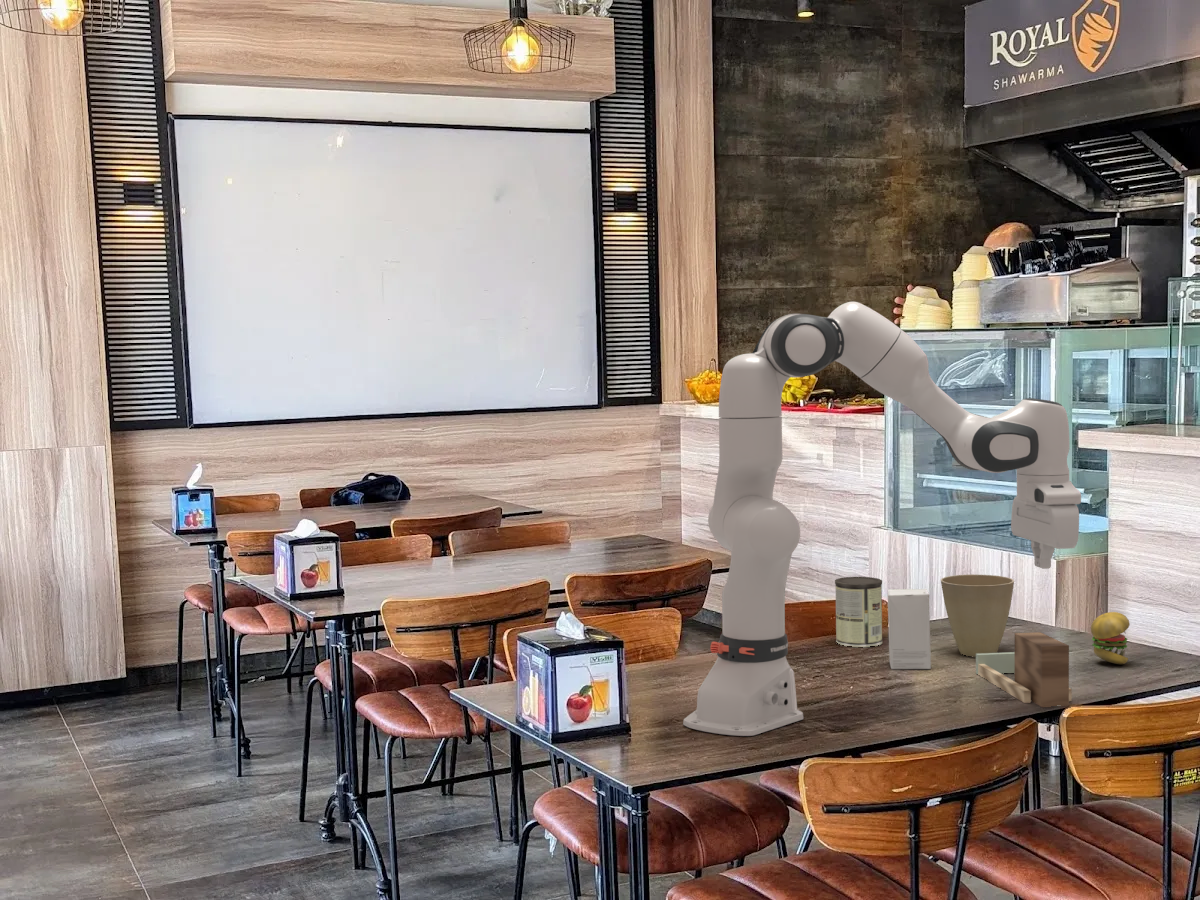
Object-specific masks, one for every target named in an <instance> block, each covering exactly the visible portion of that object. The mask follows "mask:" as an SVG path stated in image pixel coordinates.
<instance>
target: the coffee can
mask: <svg viewBox="0 0 1200 900" xmlns="http://www.w3.org/2000/svg"><path fill="white" fill-rule="evenodd" d="M834 584H835V585H834V586H835V633H836V635H835V636H836V637H835V638H836V639H835V643H836V642H837V643H838V644H837V643H836V644H837V645H839V644H840V645H839V646H842V645H844V646H843V647H847V646H852V647H851V648H858V647H863V648H871V647H870V646H875V647H878V645H879V646H881V645H882V644H883V643H884V642H883V607H882V605H883V604H882V603H883V602H882V600H883V597H882V596H883V595H882V594H883V593H882V591H883V590H882V585H883V580H882V579H880V578H876V577H870V576H844V577H838V578H835V580H834Z"/></svg>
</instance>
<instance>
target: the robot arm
mask: <svg viewBox="0 0 1200 900" xmlns="http://www.w3.org/2000/svg"><path fill="white" fill-rule="evenodd" d="M834 362H837V363H839V364H841V365H842V366H844V367H846V368H847V369H849V370H850V371H851V372H852V373H854V374H855V376H857V377H858V378H859V379H860V380H861V381H863V382H864V383H865V384H867V385H868V386H870V388H872V389H874V390H875V391H877V392H879V393H880V394H883V395H884V396H885V397H887V398H890V399H891V400H894V401H895V402H897V403H899V404H902V405H904V406H905V407H907V408H908V409H909V410H911V411H912V412H913V413H915V414H916V415H917V416H918V417H919V418H920V419H921V420H922V421H924V422H925V423H926V425H929V427H930V428H932V429H933V430H934V431H935V432H936V433H938V434H939V435H940V437H941V438H942V439H943V440H944V443H945V444H946V447H947V448H948V451H949V453H950V454H951V456H952V458H953V460H955V462H957V464H959V465H960V466H961V467H963V468H965V469H968V470H971V471H980V472H981V471H983V472H986V473H987V472H988V473H994V474H1000V473H1005V472H1008V471H1012V470H1013V471H1014V470H1016V496H1015V497H1014V498H1013V501H1012V506H1011V519H1010V530H1011V533H1012V535H1013V536H1015V537H1019V538H1022V539H1025V540H1029V541H1030V547H1031V551H1032V554H1033V557H1034V558H1033V559H1034V561H1033V562H1034V563H1033V565H1034V566H1035V567H1038V568H1040V569H1045V570H1046V569H1047V570H1048V569H1050V568H1051V566H1052V558H1053V555H1054V552H1055V549H1059V550H1061V549H1062V550H1063V549H1065V550H1068V549H1075V548H1076V546H1077V544H1078V542H1079V532H1080V531H1079V530H1080V510H1079V507H1078V505H1080V504H1081V503H1082V493H1081V492H1080V490H1079V489H1077V488H1076V486H1074V485H1073V483H1072V481H1071V480H1070V469H1069V465H1068V455H1069V452H1070V427H1069V418H1068V413H1067V410H1066V408H1065V406H1063V405H1062V404H1061V403H1059V402H1057V401H1053V400H1046V399H1040V398H1039V399H1038V398H1032V397H1028V398H1026V397H1025V398H1023V399H1022V400H1021V401H1020V402H1018V403H1017V404H1015V405H1014V406H1013V407H1011V408H1009V409H1007V410H1005V411H1003V412H1002V413H999V414H997V415H994V416H992V417H988V416H984V415H980V414H976V413H972V412H970V411H968V410H966V409H965V408H963V406H961V405H960V404H958V402H956V401H955V400H954V399H953V398H952V397H951V396H949V395H948V394H947V393H946V392H945V391H944V390H943V389H942V388H941V387H939V386H938V385H937V384H936V383H935V382H934V380H933V379H932V377H931V375H930V372H929V360H928V356H927V354H926V353H925V352H924V351H923V349H922V348H921V347H920V346H919V345H918V343H917V342H916V341H914V338H912V337H911V336H910V335H909V334H907V333H906V332H905V331H904V330H902V329H901V328H900V327H899V326H898V325H896V324H895V323H894V322H892V321H891V320H889V319H888V318H886V317H885V316H883V314H880V313H879V312H877V311H875V310H874V309H872V308H871V307H869V306H867V305H864V304H862V303H861V302H859V301H848V302H845V303H842V304H840V305H839V306H838V307H836V308H835V309H834V310H833V311H831V313H830V314H829V315H828V316H827V317H825V316H820V315H814V314H806V313H789V314H785V315H783V316H780V317H779V318H777V319H774V320H773V321H772V322H770V324H768V325H767V326H766V328H765V329H764V331H763V332H762V334H761V336H760V337H759V340H758V342H757V344H756V345H755V347H754V349H753V351H752V353H744V354H743V353H742V354H740V355H739V354H738V355H736V356H734V357H732V358H730V359H729V360H728V361H727V362H726V363H725V365H724V366H723V370H722V374H721V379H720V387H719V397H718V443H719V444H718V445H719V446H718V447H719V450H718V454H719V456H718V457H719V459H718V471H717V478H716V483H715V484H716V485H715V488H714V497H713V503H712V506H711V508H710V510H709V513H708V517H707V518H708V519H707V525H708V528H709V531H710V533H711V534H712V536H713V537H714V539H715V540H716V541H717V543H718V544H719V545H720V546H721V547H723V548H724V549H726V550H728V551H729V552H730V564H729V570H728V575H727V579H726V582H725V584H724V585H723V588H722V594H721V604H722V606H721V607H722V608H721V611H722V612H721V613H722V614H721V618H722V625H721V626H722V632H721V634H720V636H719V640H718V642H717V641H711V642H710V645H709V646H710V647H709V649H710V651H711V653H712V654H716V656H717V658H716V661H715V662H714V664H713V666H712V667H711V669H710V670H709V672H708V674H706V677H705V679H704V680H703V682H702V684H701V685H700V686H699V688H698V691H697V697H696V709H695V710H694V711H693V712H691V713H690V714H688V715H687V716H685V718H683V723H682V725H683V726H685V727H686V728H689V729H693V730H696V731H700V732H706V733H710V734H711V733H712V734H719V735H727V736H735V737H736V736H738V737H739V736H740V737H751V736H752V737H753V736H757V735H759V734H761V733H766V732H768V731H771V730H775V729H778V728H781V727H784V726H786V725H790V724H792V723H795V722H799V721H802V720H804V713H803V711H801V710H800V709H798V703H797V692H796V691H797V690H796V680H795V672H794V670H793V668H792V667H791V665H790V664H789V661H788V659H787V655H788V653H789V652H788V651H789V650H788V647H789V641H788V635H787V633H786V627H785V626H786V624H785V623H786V621H785V620H786V619H785V618H786V617H785V616H786V615H785V614H786V612H785V610H786V609H785V608H786V607H785V605H786V603H785V601H786V600H785V598H786V597H785V596H786V595H785V594H786V586H787V580H788V579H787V578H788V575H789V571H790V564H791V560H792V555H793V552H794V551H796V548H797V547H798V545H799V541H800V539H801V527H800V523H799V520H798V518H797V517H796V515H795V514H794V513H793V512H792V511H791V510H790V509H789V508H788V506H786V505H785V504H783V503H782V502H780V501H778V500H775V499H773V498H774V497H773V495H774V489H775V488H774V487H775V483H776V478H777V474H778V471H779V468H780V466H781V465H782V463H783V431H782V430H783V426H782V425H783V423H782V422H783V420H782V418H783V417H782V414H783V413H782V412H783V411H782V394H783V390H784V387H785V384H786V383H787V382H788V380H789V379H791V378H803V377H808V376H812V375H815V374H818V373H820V372H821V371H822V370H824V369H825V368H826V367H828V366H829V365H830V364H832V363H834Z"/></svg>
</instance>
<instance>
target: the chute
mask: <svg viewBox="0 0 1200 900" xmlns="http://www.w3.org/2000/svg"><path fill="white" fill-rule="evenodd" d="M979 675H980V676H979ZM978 676H979V677H981V678H982V677H983V678H982V679H984V678H985V679H984V680H986V679H987V680H988V681H987V680H986V681H987V682H989V683H991V684H992V685H994V686H995V685H996V686H995V687H997V688H998V689H1000V688H1001V689H1000V690H1002V691H1004V692H1005V691H1006V692H1005V693H1008V695H1010V696H1012V697H1014V698H1015V699H1017V700H1018V701H1020V702H1022V703H1024V704H1031V702H1032V701H1031V691H1030V690H1028V689H1027V688H1025V687H1023V686H1021V685H1020V684H1018V683H1016V682H1015V681H1014V680H1013V679H1012V678H1009V677H1007V676H1006V675H1005V674H1001V673H999V672H997V671H996V670H994V669H992V668H990V667H989V666H987V665H985V664H978ZM1072 692H1073V689H1072V688H1070V687H1069V702H1073V701H1072V699H1073V698H1072V697H1073V693H1072Z"/></svg>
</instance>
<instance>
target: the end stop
mask: <svg viewBox="0 0 1200 900" xmlns="http://www.w3.org/2000/svg"><path fill="white" fill-rule="evenodd" d="M978 664H985V665H987V666H989V667H990V668H992V669H994V670H996V671H997V672H999V673H1001V674H1002V673H1003V675H1005V674H1004V673H1014V674H1015V651H1013V652H1010V651H1009V652H997V653H981V654H976V657H975V674H976V675H977V674H978Z"/></svg>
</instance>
